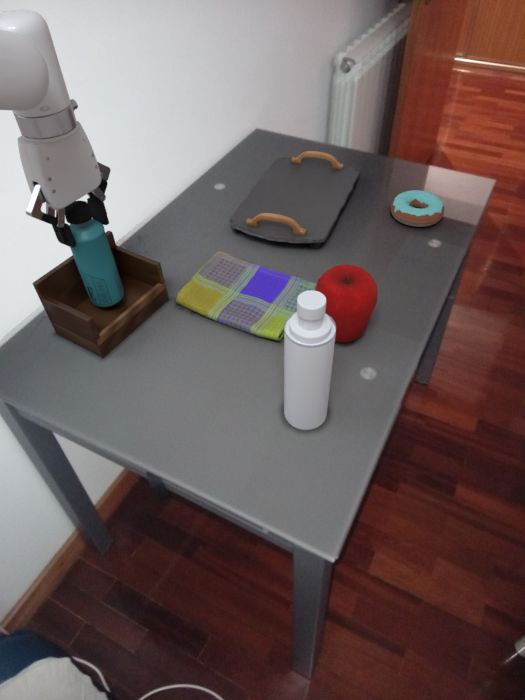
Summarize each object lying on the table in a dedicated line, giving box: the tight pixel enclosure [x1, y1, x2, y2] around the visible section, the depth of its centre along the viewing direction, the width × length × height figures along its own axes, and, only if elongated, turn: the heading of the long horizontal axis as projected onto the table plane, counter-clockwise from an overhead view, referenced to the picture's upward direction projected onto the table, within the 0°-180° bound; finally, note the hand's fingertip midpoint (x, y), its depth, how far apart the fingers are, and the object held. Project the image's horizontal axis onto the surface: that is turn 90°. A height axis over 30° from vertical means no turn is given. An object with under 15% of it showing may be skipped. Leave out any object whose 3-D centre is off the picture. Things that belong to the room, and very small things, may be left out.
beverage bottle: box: [65, 200, 124, 307], centre depth 83 cm, size 6×7×20 cm
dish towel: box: [173, 250, 317, 342], centre depth 95 cm, size 18×24×3 cm
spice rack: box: [32, 230, 169, 359], centre depth 89 cm, size 18×12×12 cm, turn 148°
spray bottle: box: [283, 290, 336, 431], centre depth 68 cm, size 7×7×25 cm
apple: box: [315, 263, 379, 343], centre depth 84 cm, size 11×10×14 cm
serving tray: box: [228, 150, 361, 250], centre depth 116 cm, size 39×23×6 cm, turn 159°
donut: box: [390, 189, 445, 228], centre depth 112 cm, size 12×12×4 cm
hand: (85, 232), depth 80 cm, fingers closed on beverage bottle, 6 cm apart
